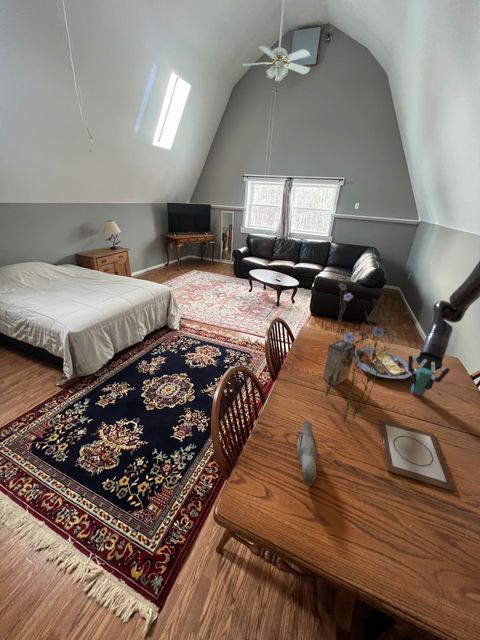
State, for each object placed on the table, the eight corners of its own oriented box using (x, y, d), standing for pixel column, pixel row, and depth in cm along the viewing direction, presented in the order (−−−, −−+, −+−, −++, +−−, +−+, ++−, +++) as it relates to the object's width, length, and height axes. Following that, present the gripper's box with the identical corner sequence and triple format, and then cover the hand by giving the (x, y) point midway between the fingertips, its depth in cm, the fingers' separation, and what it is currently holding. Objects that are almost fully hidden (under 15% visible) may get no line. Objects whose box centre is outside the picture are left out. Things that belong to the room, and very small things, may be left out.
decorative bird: (297, 486, 69) (301, 467, 66) (294, 436, 84) (297, 418, 81) (318, 490, 69) (323, 470, 66) (312, 439, 83) (315, 421, 80)
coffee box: (335, 370, 117) (343, 338, 110) (348, 378, 112) (357, 345, 106) (321, 377, 112) (329, 344, 105) (334, 386, 107) (343, 352, 100)
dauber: (421, 392, 106) (430, 368, 102) (424, 399, 103) (434, 375, 98) (408, 389, 108) (417, 366, 103) (411, 396, 104) (420, 372, 99)
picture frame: (432, 434, 87) (433, 433, 87) (454, 492, 70) (455, 490, 70) (379, 420, 92) (379, 419, 91) (387, 471, 74) (388, 470, 74)
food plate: (345, 349, 134) (346, 343, 132) (392, 352, 133) (394, 346, 132) (364, 381, 111) (366, 374, 110) (420, 384, 111) (423, 377, 109)
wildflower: (387, 419, 92) (433, 296, 73) (344, 447, 81) (385, 310, 62) (336, 382, 109) (362, 275, 90) (294, 401, 98) (314, 283, 79)
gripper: (414, 337, 106) (399, 376, 103) (459, 350, 98) (444, 392, 95) (413, 344, 112) (398, 380, 109) (454, 356, 104) (440, 397, 101)
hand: (419, 386), depth 102 cm, fingers closed on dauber, 4 cm apart
